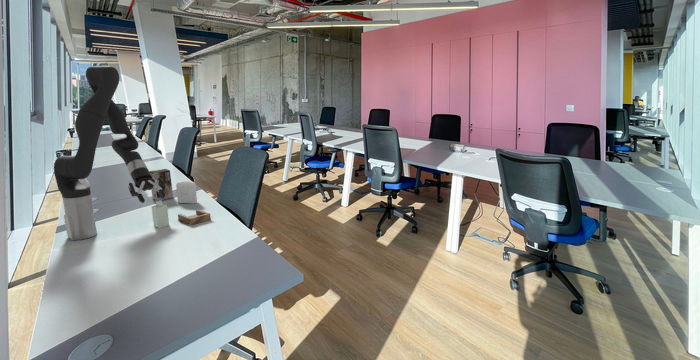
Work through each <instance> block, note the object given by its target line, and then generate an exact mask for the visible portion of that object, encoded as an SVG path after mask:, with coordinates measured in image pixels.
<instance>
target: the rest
mask: <svg viewBox="0 0 700 360" xmlns="http://www.w3.org/2000/svg"><path fill="white" fill-rule="evenodd" d="M177 219H178V221H179V222H181V223H183V224H186V225H189V226H193V225H197V224H201V223H204V222H207V221H212V219H211V213H209V212H207V211H204V210H201V209H195V214H193V215H185V214H182V213H178V214H177Z"/></svg>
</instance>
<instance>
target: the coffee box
mask: <svg viewBox="0 0 700 360" xmlns="http://www.w3.org/2000/svg"><path fill="white" fill-rule="evenodd" d="M149 172H150V174H151V176H152V178H153V179H154V180H156V179H158V178H161V180H162V181H163V183H164V185H165V186H166V188H165V190H164V191H163V192H164V194H165V197H164V199H162V201H163V200H166V199H167V200H168V199H171V198H174V192H173V184H172V183H173V182H172V177H171V175H172V174H171V170H170V169H167V168H162V169H156V170H155V169H154V170H149ZM155 184H157V183H155ZM157 185H158V184H157ZM158 186H159V185H158ZM153 187H155V186H153ZM150 191H151V196H152V199H153V200H155V199H156V198H161V197H160V195H159V192H157V191H154V190H152V189H151V190H150Z"/></svg>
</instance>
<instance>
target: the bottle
mask: <svg viewBox="0 0 700 360" xmlns="http://www.w3.org/2000/svg"><path fill="white" fill-rule="evenodd" d="M154 201H155V205H151V214H152V222H153V226H154V227H156V228H158V229H160V228H163V227H168V226H170V221H169V220H170V218H169V212H168V206H167V205H166V204H163V200H162V198H156V199H154Z"/></svg>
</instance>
